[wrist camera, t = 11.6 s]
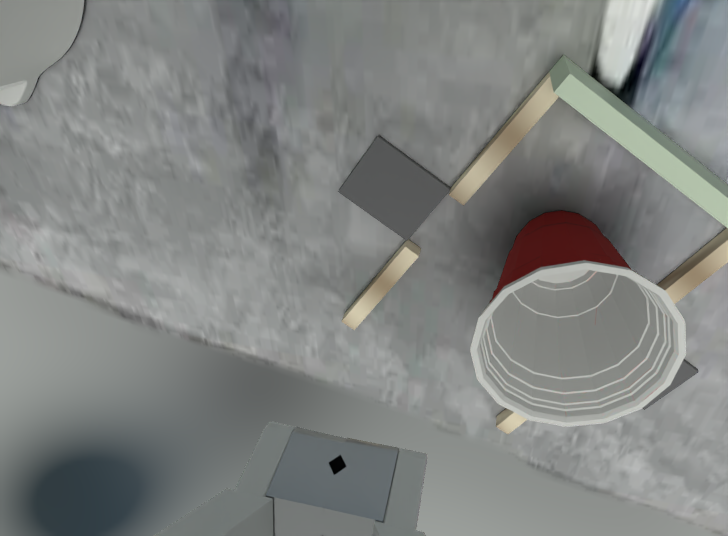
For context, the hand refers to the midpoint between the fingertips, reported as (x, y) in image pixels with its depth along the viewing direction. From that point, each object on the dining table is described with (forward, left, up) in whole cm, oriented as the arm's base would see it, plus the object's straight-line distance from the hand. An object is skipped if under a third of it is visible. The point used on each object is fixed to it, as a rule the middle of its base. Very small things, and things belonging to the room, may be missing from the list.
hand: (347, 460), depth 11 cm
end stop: (+12, -3, -31) cm, 34 cm away
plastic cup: (+8, -11, -31) cm, 34 cm away
